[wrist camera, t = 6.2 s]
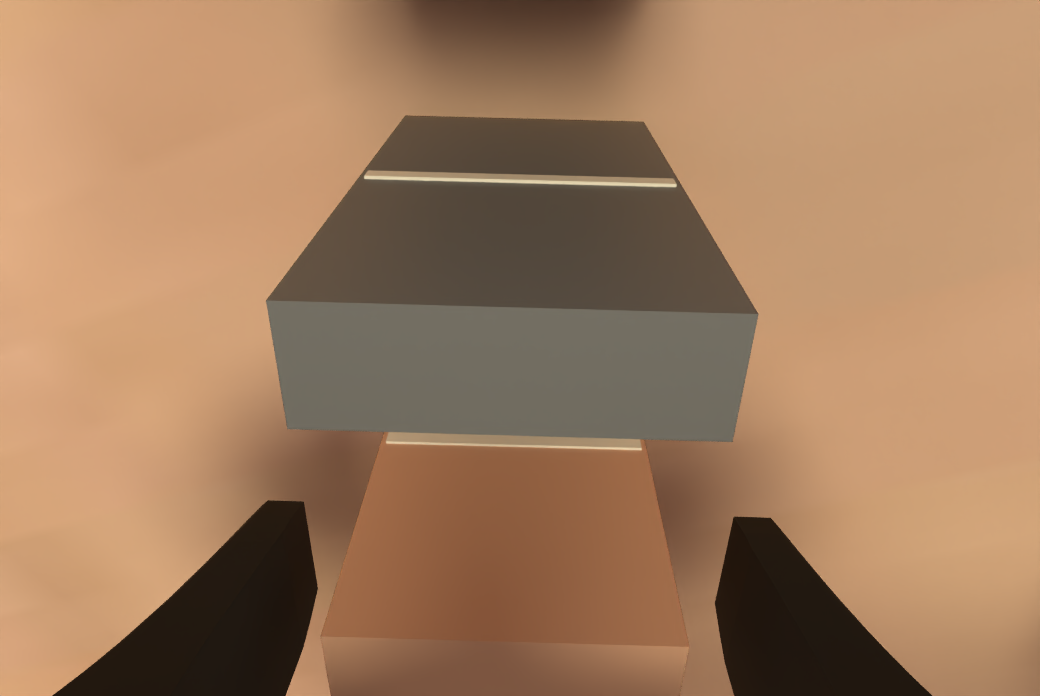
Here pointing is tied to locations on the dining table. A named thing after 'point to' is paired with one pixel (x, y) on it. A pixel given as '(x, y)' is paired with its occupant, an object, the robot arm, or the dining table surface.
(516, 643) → the terracotta domino
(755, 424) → the dining table surface
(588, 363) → the domino
